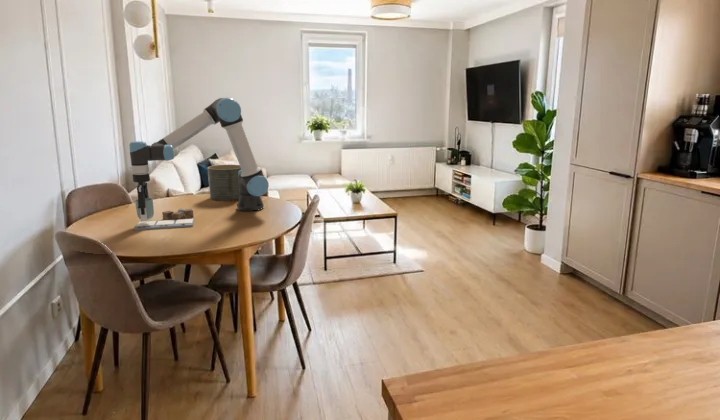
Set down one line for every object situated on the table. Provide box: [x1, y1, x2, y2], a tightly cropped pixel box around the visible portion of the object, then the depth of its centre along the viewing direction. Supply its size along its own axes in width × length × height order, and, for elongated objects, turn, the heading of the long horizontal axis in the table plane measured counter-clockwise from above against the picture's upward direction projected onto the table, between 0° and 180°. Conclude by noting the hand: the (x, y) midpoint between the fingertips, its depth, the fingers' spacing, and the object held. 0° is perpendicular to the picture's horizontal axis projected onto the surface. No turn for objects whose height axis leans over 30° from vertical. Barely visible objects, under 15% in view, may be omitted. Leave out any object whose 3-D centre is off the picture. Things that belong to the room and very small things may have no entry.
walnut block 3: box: [183, 208, 194, 219], centre depth 245 cm, size 4×4×4 cm
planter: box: [207, 164, 241, 202], centre depth 291 cm, size 22×22×20 cm
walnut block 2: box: [171, 211, 184, 220], centre depth 238 cm, size 4×4×4 cm
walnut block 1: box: [161, 210, 175, 221], centre depth 241 cm, size 4×4×4 cm
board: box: [133, 218, 195, 231], centre depth 229 cm, size 27×12×1 cm, turn 106°
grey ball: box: [177, 208, 185, 216], centre depth 248 cm, size 4×4×4 cm
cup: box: [134, 197, 155, 221], centre depth 226 cm, size 8×8×10 cm
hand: (145, 218), depth 227 cm, fingers closed on cup, 8 cm apart
